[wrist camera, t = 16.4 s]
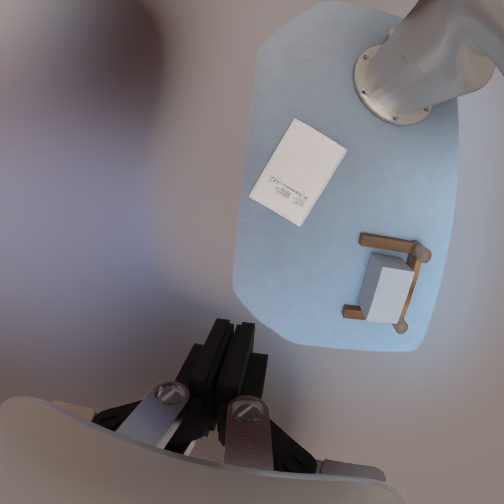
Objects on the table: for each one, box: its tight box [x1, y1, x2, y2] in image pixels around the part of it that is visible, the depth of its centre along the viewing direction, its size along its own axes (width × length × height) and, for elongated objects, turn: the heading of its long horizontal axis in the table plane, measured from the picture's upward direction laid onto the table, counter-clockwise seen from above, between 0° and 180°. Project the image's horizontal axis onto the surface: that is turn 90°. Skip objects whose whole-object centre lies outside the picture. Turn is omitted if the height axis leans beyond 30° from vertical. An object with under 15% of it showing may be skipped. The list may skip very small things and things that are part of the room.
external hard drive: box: [249, 118, 347, 227], centre depth 36 cm, size 2×8×12 cm
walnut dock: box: [342, 233, 431, 334], centre depth 37 cm, size 14×10×4 cm
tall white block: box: [358, 253, 415, 324], centre depth 37 cm, size 8×5×6 cm, turn 173°
